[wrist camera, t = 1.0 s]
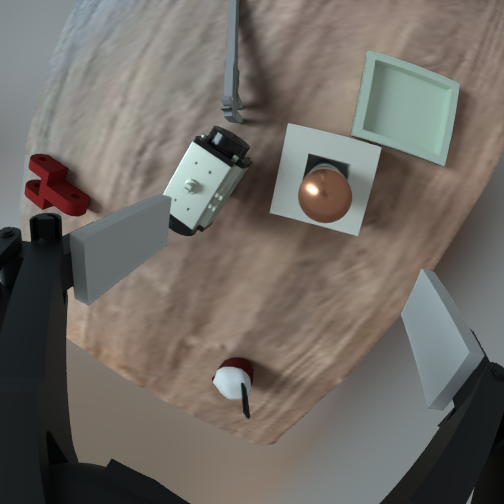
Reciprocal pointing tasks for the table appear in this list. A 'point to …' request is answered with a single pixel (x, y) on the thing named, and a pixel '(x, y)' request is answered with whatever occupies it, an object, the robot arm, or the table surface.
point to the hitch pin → (325, 193)
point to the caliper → (232, 68)
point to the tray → (405, 108)
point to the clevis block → (332, 149)
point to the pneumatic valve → (206, 180)
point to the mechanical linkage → (54, 187)
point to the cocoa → (235, 381)
